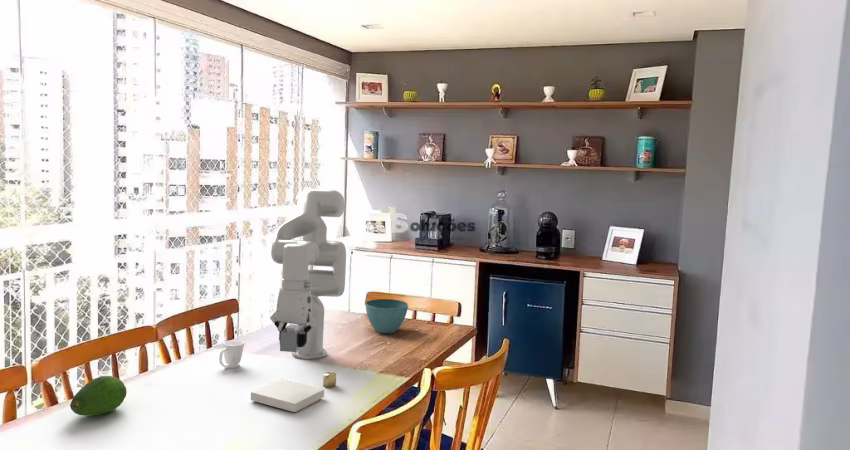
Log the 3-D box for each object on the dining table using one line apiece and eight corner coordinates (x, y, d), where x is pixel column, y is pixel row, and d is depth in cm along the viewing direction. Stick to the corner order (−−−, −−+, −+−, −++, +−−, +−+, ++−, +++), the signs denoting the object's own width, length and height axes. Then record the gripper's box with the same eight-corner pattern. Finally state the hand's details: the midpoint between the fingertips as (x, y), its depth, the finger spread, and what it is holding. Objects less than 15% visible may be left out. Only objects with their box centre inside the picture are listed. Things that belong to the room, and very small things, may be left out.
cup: (248, 364, 213) (248, 341, 213) (228, 372, 204) (228, 349, 203) (231, 361, 216) (232, 338, 215) (211, 369, 207) (212, 345, 206)
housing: (289, 342, 190) (290, 324, 190) (304, 343, 190) (305, 325, 189) (279, 351, 180) (280, 332, 180) (296, 352, 180) (296, 333, 179)
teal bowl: (405, 338, 258) (407, 309, 257) (362, 335, 258) (363, 306, 257) (407, 327, 276) (408, 300, 275) (366, 324, 276) (368, 297, 275)
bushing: (320, 386, 196) (321, 374, 196) (327, 383, 200) (328, 371, 199) (331, 389, 194) (331, 376, 194) (338, 385, 198) (338, 373, 198)
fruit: (85, 428, 157) (85, 390, 156) (59, 420, 161) (59, 383, 160) (134, 408, 171) (135, 373, 170) (109, 401, 175) (109, 367, 174)
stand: (250, 402, 180) (250, 392, 180) (281, 388, 193) (282, 378, 193) (294, 414, 173) (295, 403, 173) (323, 398, 186) (324, 389, 186)
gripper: (326, 286, 185) (324, 345, 186) (275, 280, 189) (273, 338, 191) (315, 290, 178) (313, 351, 179) (262, 284, 182) (260, 344, 184)
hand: (292, 344), depth 185 cm, fingers closed on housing, 5 cm apart
